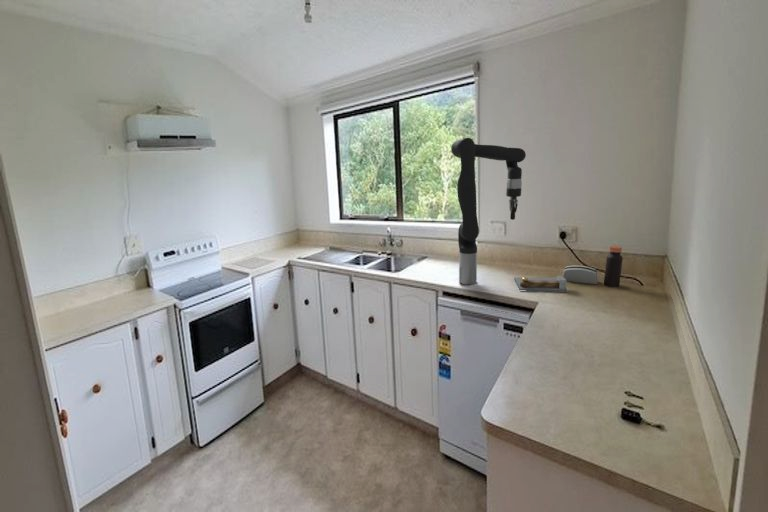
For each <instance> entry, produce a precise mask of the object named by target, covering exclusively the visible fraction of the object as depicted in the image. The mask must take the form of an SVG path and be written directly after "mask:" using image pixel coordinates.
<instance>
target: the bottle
mask: <svg viewBox="0 0 768 512" xmlns="http://www.w3.org/2000/svg"><path fill="white" fill-rule="evenodd" d="M622 250H623V248H622V246H620V245H619V246H618V245H611V246H610V247H609V252H610V253H609V254H607V256H606V259H605V268H604V269H605V270H604V279H603V285H604V286H606V287H608V288H619V287H620V284H621V283H620V282H621V276H622V275H621V274H622V267H623V260H624V258H623V255H621V253H622Z"/></svg>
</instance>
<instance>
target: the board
mask: <svg viewBox="0 0 768 512" xmlns="http://www.w3.org/2000/svg"><path fill="white" fill-rule="evenodd" d="M522 278H523V277H516V276H515V277H514V278H513V281H514V283H515V285H516V286H518V287H517V289H518V288H519V289H518V291H519V290H526V291H525V292H539V291H546V292H548V293H549V292H550V293H552V292H553V293H568V289H567V288H566V290H561V289H558V287H521V286H520V281H521V280H522ZM527 278H528V280H541V281H558V280H557V279H556V277H527ZM546 292H545V293H546Z"/></svg>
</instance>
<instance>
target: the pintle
mask: <svg viewBox="0 0 768 512" xmlns="http://www.w3.org/2000/svg"><path fill="white" fill-rule="evenodd" d="M521 278H522V281H525V282H526V281H528V278H529V277H526V276H523V277H521Z"/></svg>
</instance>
